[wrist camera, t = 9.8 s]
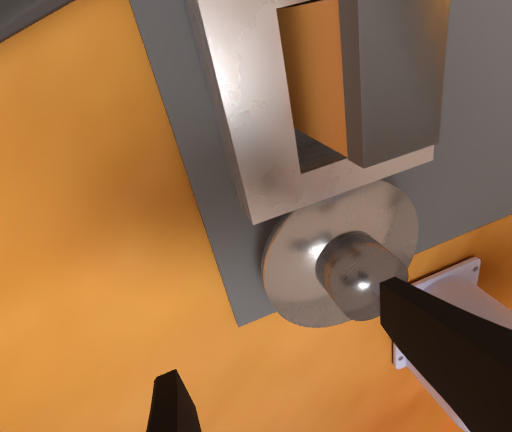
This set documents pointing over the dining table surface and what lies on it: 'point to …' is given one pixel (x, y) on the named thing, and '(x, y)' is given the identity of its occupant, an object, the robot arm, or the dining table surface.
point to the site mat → (408, 181)
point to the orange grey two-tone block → (367, 74)
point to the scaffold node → (299, 176)
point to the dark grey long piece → (25, 14)
